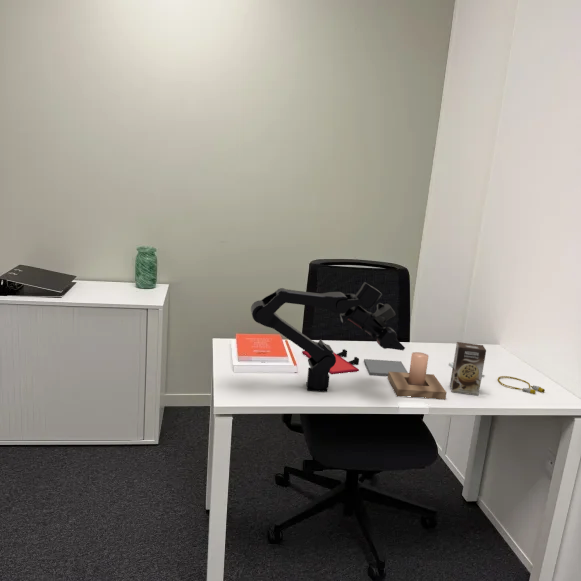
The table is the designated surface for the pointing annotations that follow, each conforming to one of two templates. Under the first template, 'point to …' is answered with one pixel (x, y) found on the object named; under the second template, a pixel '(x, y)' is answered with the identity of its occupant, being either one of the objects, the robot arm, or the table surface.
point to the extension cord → (528, 390)
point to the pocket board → (416, 386)
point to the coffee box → (467, 368)
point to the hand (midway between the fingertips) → (399, 344)
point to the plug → (418, 369)
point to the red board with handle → (341, 363)
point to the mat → (383, 367)
